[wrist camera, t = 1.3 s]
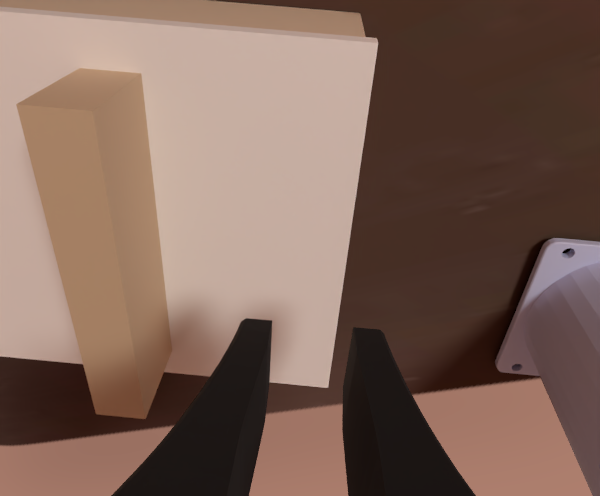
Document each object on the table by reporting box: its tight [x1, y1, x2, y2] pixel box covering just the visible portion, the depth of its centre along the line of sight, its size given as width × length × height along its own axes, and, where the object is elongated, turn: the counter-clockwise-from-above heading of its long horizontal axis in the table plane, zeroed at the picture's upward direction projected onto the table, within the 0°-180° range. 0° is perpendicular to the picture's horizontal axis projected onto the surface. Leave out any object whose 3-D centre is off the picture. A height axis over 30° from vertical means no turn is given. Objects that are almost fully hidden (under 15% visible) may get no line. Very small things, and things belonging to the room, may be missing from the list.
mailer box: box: [0, 0, 365, 37], centre depth 18 cm, size 16×12×5 cm
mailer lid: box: [0, 7, 378, 419], centre depth 14 cm, size 16×12×4 cm
